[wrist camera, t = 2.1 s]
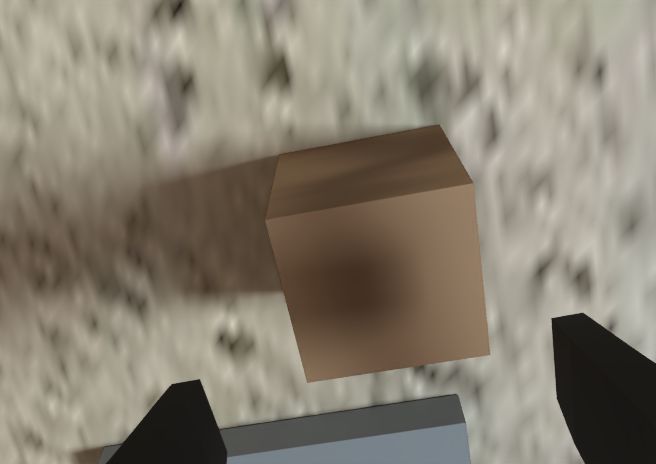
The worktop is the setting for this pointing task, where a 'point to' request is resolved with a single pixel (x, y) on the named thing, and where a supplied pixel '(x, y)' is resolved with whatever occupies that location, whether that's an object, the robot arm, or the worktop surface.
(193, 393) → the robot arm
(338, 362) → the walnut block
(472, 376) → the worktop surface
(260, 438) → the slate base plate
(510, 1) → the worktop surface
